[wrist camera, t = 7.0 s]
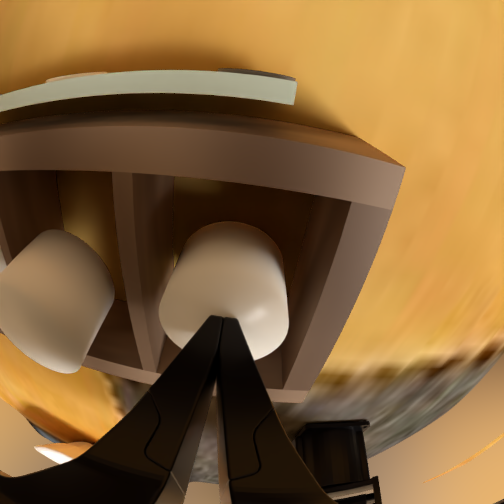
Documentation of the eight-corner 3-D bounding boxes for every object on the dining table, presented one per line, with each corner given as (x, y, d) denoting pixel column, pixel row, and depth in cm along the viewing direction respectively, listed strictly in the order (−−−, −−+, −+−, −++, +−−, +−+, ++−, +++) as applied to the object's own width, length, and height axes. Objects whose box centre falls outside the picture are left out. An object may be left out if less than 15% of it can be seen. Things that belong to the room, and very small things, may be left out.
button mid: (105, 236, 8) (56, 298, 6) (122, 324, 10) (95, 385, 8) (21, 224, 8) (-29, 271, 5) (46, 304, 10) (14, 353, 8)
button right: (293, 229, 10) (302, 283, 8) (273, 311, 12) (274, 368, 10) (181, 214, 10) (154, 263, 7) (181, 299, 12) (164, 353, 10)
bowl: (188, 472, 36) (184, 500, 31) (125, 471, 45) (121, 491, 40) (65, 415, 28) (53, 448, 23) (37, 424, 36) (28, 446, 31)
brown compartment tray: (358, 137, 10) (405, 167, 6) (296, 340, 15) (302, 402, 12) (-28, 130, 9) (-77, 154, 5) (8, 284, 15) (-22, 321, 11)
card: (289, 80, 9) (302, 76, 6) (286, 100, 9) (297, 106, 6) (-4, 96, 8) (-53, 112, 5) (-3, 110, 8) (-53, 128, 5)
